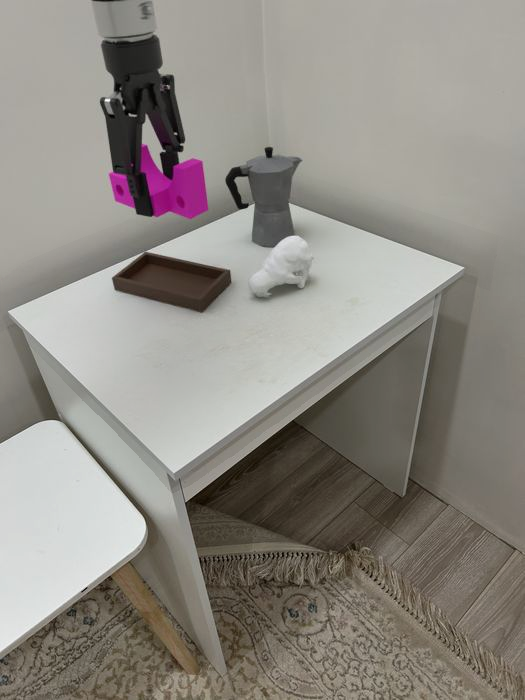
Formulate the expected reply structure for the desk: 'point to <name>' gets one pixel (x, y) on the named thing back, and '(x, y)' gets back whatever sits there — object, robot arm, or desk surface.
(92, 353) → the desk surface
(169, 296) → the dark brown rectangular tray
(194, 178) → the magenta curved bracket
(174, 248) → the desk surface
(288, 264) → the white lumpy piece
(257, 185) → the coffeepot
